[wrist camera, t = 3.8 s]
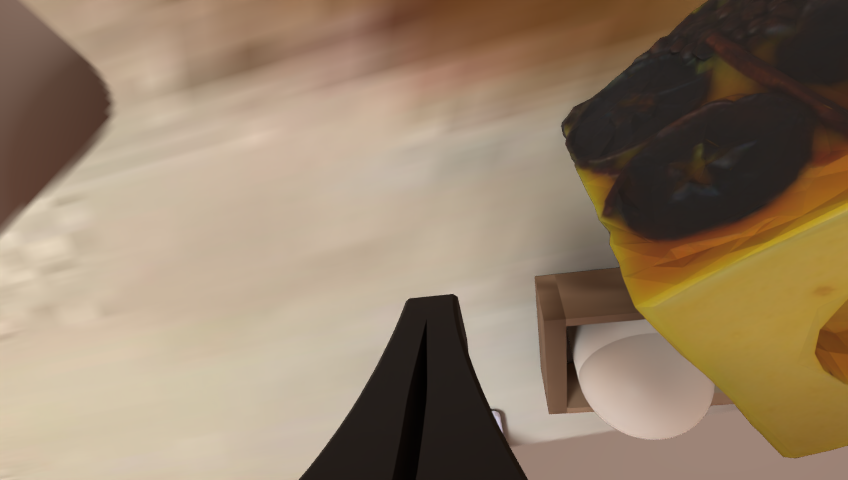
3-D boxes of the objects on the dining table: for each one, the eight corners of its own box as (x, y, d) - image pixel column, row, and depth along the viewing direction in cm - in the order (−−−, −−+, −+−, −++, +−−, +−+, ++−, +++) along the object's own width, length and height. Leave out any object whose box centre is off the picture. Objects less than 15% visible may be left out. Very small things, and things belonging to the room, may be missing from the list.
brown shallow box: (541, 369, 28) (549, 417, 25) (534, 276, 23) (544, 324, 20) (832, 348, 25) (874, 399, 22) (894, 238, 20) (957, 288, 18)
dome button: (567, 363, 26) (591, 465, 22) (566, 292, 23) (594, 397, 18) (675, 355, 25) (724, 461, 21) (692, 280, 22) (756, 387, 17)
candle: (841, -113, 13) (1440, -113, 5) (927, 124, 17) (1332, 326, 9) (548, 120, 18) (620, 303, 10) (670, 260, 22) (790, 468, 14)
